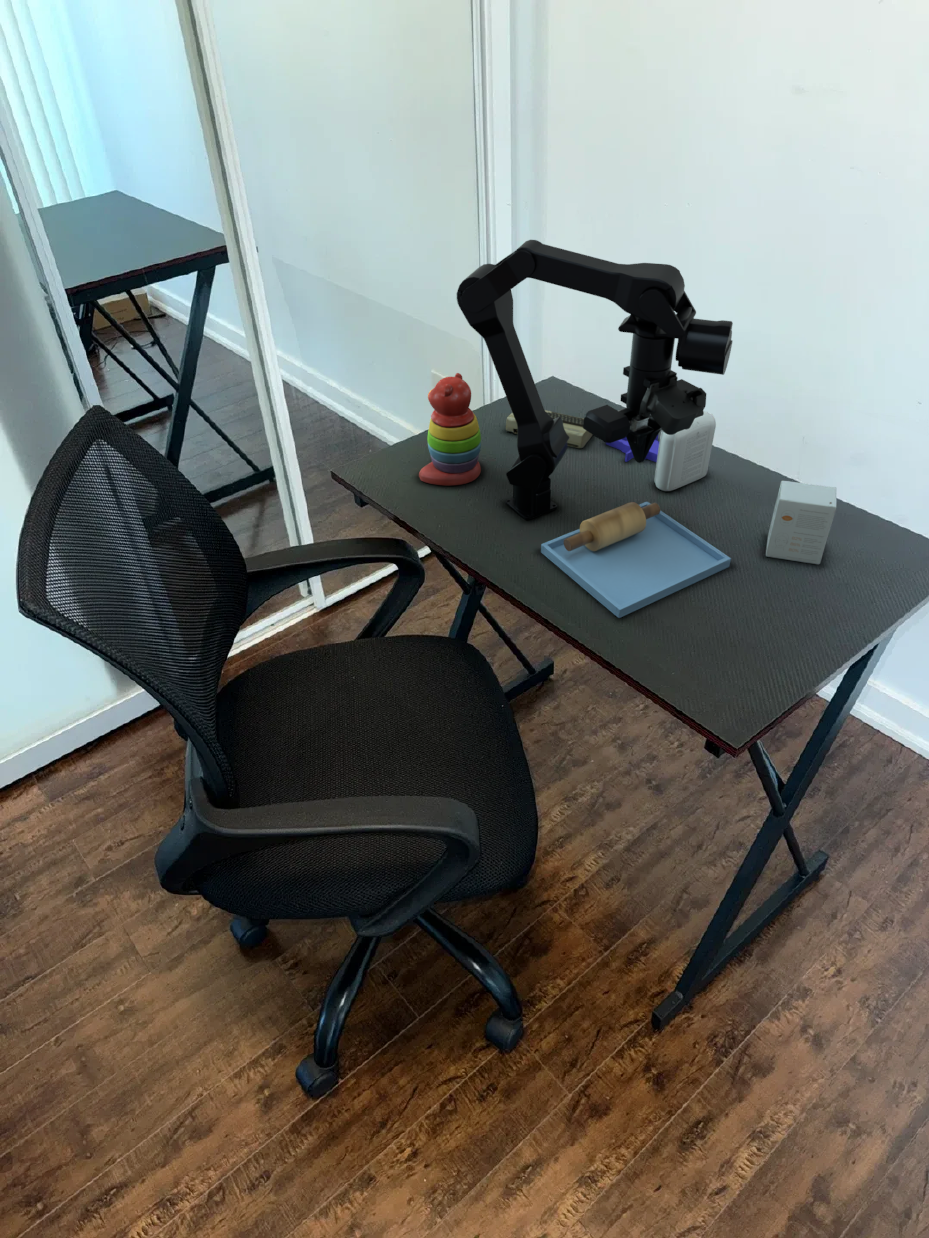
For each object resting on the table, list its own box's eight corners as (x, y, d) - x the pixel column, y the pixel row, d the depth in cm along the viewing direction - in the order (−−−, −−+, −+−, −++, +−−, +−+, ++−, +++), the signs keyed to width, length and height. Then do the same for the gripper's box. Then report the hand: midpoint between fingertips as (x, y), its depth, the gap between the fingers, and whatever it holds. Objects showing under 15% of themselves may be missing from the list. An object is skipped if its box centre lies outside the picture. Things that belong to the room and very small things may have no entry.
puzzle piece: (627, 430, 157) (628, 422, 156) (682, 450, 151) (683, 442, 150) (596, 450, 152) (597, 442, 151) (651, 472, 146) (652, 463, 145)
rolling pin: (556, 550, 128) (558, 523, 125) (644, 514, 135) (647, 488, 132) (576, 566, 125) (578, 539, 122) (664, 528, 132) (668, 502, 128)
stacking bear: (443, 452, 154) (437, 361, 142) (492, 463, 150) (490, 370, 138) (414, 480, 146) (406, 386, 135) (465, 493, 143) (462, 397, 131)
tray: (540, 552, 129) (541, 544, 128) (645, 509, 137) (646, 501, 136) (618, 618, 117) (619, 609, 116) (729, 566, 125) (731, 558, 124)
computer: (597, 430, 158) (599, 414, 156) (581, 450, 152) (582, 433, 150) (523, 414, 164) (523, 399, 162) (505, 432, 158) (505, 417, 156)
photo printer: (692, 466, 147) (703, 401, 139) (710, 476, 144) (722, 411, 136) (649, 484, 143) (658, 419, 135) (667, 495, 140) (676, 429, 132)
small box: (820, 545, 128) (838, 486, 121) (819, 566, 124) (838, 507, 117) (766, 536, 130) (781, 479, 123) (764, 557, 126) (779, 498, 119)
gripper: (637, 402, 107) (626, 504, 117) (741, 366, 114) (722, 465, 124) (584, 372, 114) (577, 471, 124) (685, 340, 121) (671, 436, 131)
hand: (639, 461), depth 126 cm, fingers closed
